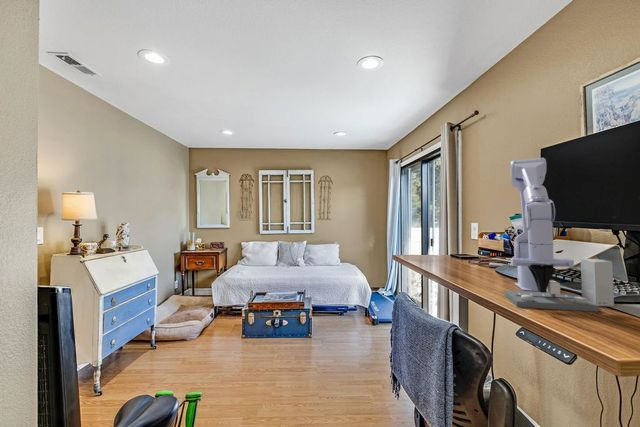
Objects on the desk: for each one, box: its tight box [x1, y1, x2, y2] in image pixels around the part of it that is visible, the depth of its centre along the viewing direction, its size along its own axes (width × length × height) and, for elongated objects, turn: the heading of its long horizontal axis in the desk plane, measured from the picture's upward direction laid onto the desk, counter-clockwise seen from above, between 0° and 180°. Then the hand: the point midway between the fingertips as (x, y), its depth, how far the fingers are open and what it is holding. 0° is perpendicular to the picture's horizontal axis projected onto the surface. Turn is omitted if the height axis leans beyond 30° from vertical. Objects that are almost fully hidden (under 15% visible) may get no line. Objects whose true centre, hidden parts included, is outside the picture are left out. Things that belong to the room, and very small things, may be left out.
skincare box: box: [580, 258, 615, 307], centre depth 82 cm, size 6×4×12 cm
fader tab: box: [547, 280, 561, 297], centre depth 83 cm, size 3×2×4 cm
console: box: [503, 289, 600, 312], centre depth 84 cm, size 12×18×3 cm, turn 72°
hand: (542, 291), depth 84 cm, fingers closed
